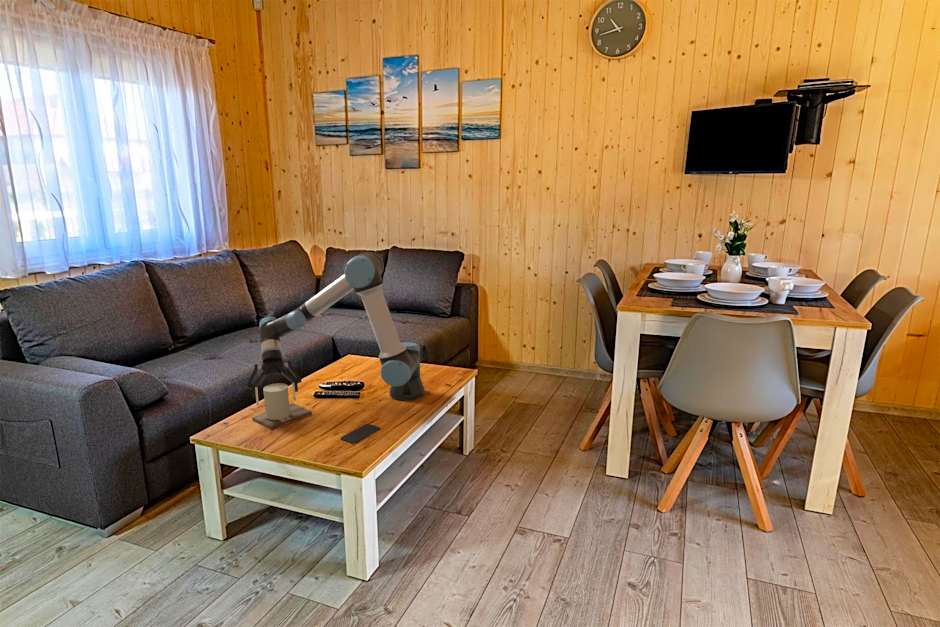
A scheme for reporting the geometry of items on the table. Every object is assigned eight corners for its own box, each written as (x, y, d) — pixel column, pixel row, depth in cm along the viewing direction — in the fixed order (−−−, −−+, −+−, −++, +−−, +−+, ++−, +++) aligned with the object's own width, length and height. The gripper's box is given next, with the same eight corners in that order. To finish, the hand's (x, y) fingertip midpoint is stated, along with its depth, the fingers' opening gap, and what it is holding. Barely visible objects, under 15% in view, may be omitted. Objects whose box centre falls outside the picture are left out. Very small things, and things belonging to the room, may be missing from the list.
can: (282, 421, 212) (280, 391, 209) (260, 418, 214) (257, 389, 211) (294, 411, 221) (292, 382, 218) (273, 409, 222) (271, 381, 219)
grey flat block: (311, 414, 222) (311, 410, 221) (271, 429, 208) (271, 425, 208) (292, 405, 230) (292, 402, 229) (252, 420, 216) (252, 416, 216)
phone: (381, 427, 209) (354, 443, 197) (381, 429, 210) (354, 445, 197) (366, 423, 213) (338, 438, 201) (366, 425, 213) (339, 440, 201)
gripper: (303, 354, 232) (309, 401, 222) (238, 360, 223) (242, 410, 213) (303, 345, 226) (310, 393, 216) (237, 352, 217) (240, 402, 207)
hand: (276, 401), depth 214 cm, fingers open, 13 cm apart
